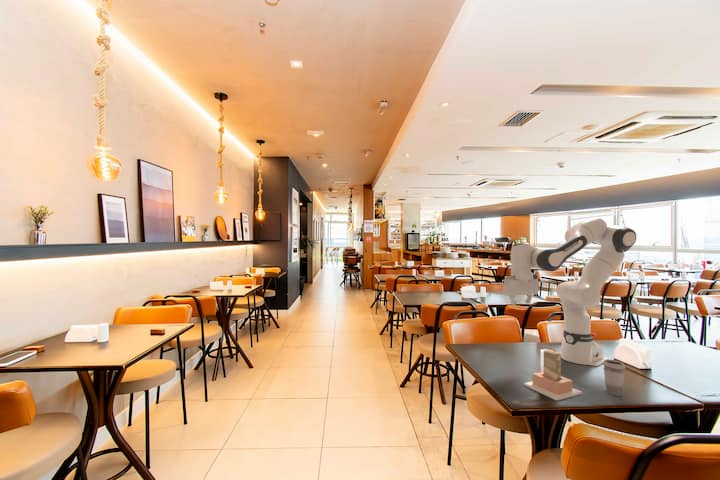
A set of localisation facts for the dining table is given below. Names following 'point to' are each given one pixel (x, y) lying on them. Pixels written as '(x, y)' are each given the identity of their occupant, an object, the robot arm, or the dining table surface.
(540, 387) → the pink slotted holder
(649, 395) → the dining table surface
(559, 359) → the slat
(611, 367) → the cup
